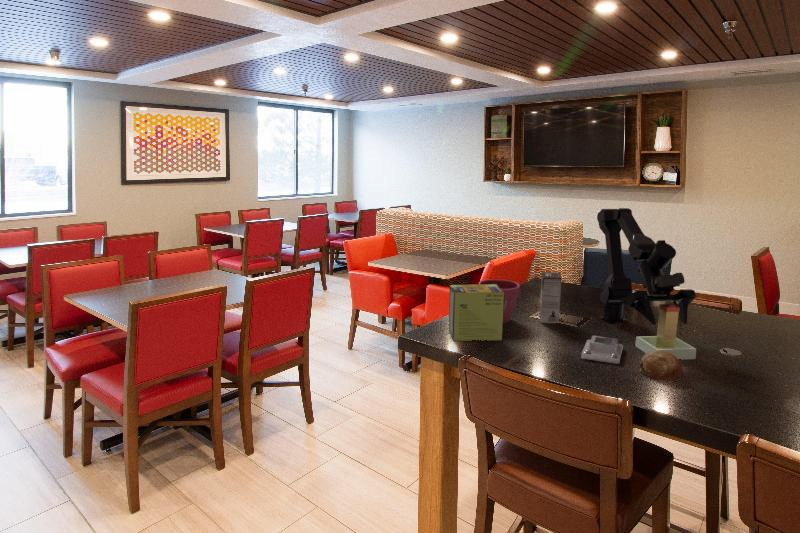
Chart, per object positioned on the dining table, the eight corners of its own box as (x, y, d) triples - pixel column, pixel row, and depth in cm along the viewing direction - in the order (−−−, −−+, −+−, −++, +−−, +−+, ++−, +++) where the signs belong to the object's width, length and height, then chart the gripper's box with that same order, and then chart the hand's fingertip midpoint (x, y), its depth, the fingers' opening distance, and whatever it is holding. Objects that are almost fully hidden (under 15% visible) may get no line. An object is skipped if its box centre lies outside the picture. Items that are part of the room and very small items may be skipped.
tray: (635, 346, 166) (636, 336, 165) (672, 345, 166) (673, 335, 166) (655, 360, 154) (656, 349, 154) (695, 359, 155) (696, 349, 155)
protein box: (502, 340, 170) (504, 291, 167) (453, 341, 169) (454, 292, 166) (494, 330, 180) (496, 283, 177) (448, 330, 179) (449, 284, 176)
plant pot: (523, 325, 186) (525, 288, 183) (482, 326, 184) (484, 288, 182) (511, 313, 200) (512, 278, 197) (473, 314, 198) (474, 279, 196)
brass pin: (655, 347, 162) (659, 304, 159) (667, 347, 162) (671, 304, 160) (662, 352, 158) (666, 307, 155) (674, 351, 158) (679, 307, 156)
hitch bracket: (587, 344, 167) (587, 333, 166) (622, 349, 163) (623, 338, 162) (581, 358, 155) (582, 346, 155) (619, 364, 151) (620, 352, 150)
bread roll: (637, 378, 151) (627, 354, 149) (671, 362, 151) (662, 337, 149) (657, 394, 141) (646, 368, 139) (693, 377, 141) (683, 350, 139)
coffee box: (538, 315, 197) (541, 271, 194) (557, 316, 196) (560, 272, 192) (540, 322, 188) (542, 276, 185) (559, 324, 187) (562, 277, 184)
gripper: (634, 263, 158) (651, 310, 150) (696, 262, 160) (716, 309, 151) (619, 283, 168) (634, 329, 159) (678, 282, 169) (696, 328, 160)
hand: (670, 323), depth 157 cm, fingers open, 9 cm apart
